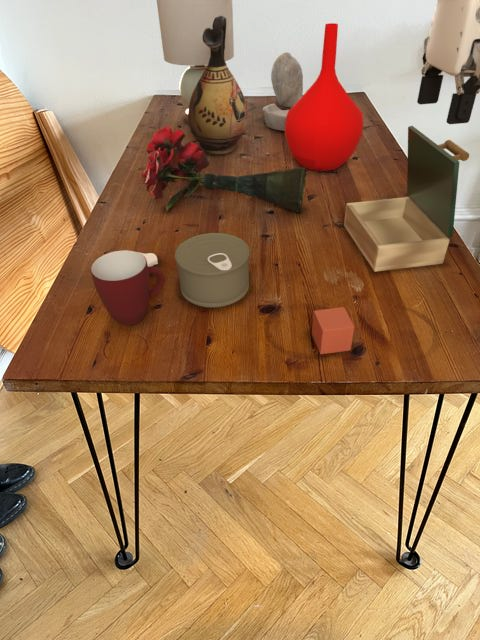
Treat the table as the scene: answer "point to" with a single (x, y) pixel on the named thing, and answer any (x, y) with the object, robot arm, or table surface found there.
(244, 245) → the can
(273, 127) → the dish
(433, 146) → the cover
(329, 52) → the vase
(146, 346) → the table surface
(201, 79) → the ceramic jug
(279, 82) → the decorative stone
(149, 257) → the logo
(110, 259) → the mug
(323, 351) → the block
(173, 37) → the lamp
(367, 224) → the cream open box
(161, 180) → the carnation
